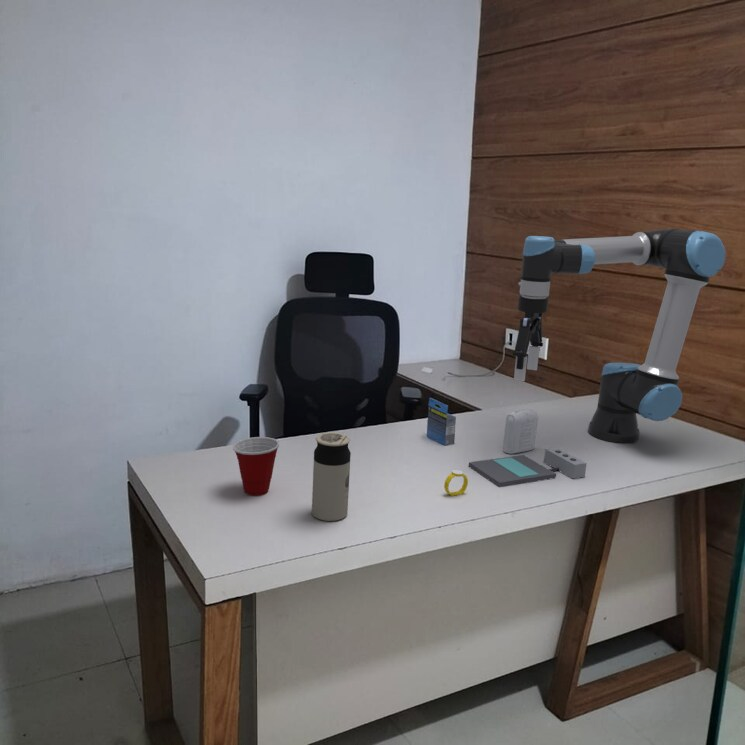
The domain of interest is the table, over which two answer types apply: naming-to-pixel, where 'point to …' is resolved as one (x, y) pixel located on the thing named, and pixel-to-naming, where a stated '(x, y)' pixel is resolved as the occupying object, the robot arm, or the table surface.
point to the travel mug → (331, 476)
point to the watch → (453, 474)
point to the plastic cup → (256, 463)
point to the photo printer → (520, 431)
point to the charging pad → (511, 470)
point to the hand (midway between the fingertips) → (525, 375)
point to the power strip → (565, 462)
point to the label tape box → (440, 423)
